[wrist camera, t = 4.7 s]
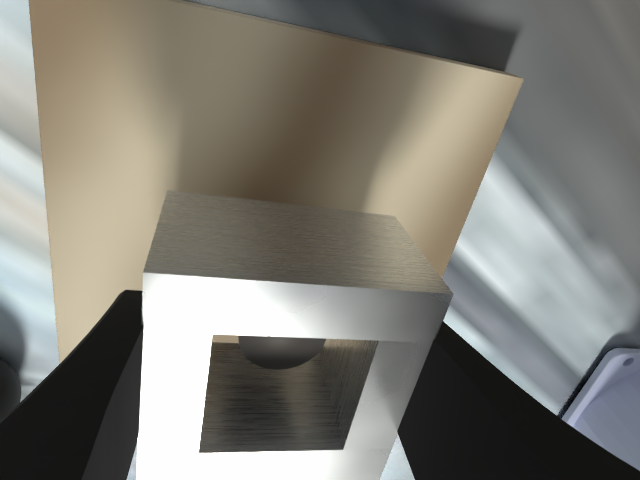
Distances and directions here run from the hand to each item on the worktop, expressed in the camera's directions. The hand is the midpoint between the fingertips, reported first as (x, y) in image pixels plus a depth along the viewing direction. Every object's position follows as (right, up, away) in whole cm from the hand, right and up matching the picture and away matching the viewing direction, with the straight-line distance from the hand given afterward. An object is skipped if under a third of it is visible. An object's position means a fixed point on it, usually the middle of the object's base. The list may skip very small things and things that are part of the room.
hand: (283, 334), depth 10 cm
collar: (-1, +1, +2) cm, 2 cm away
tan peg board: (-1, +2, +4) cm, 5 cm away
